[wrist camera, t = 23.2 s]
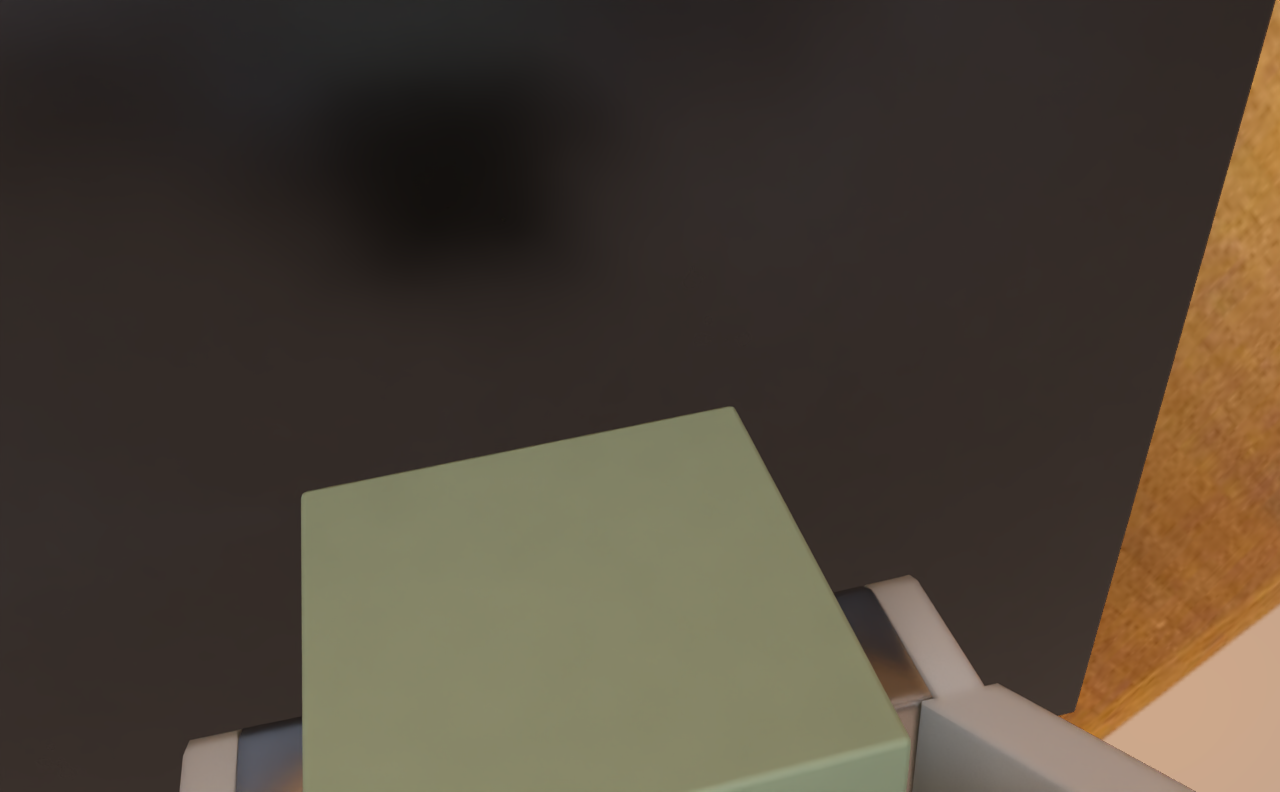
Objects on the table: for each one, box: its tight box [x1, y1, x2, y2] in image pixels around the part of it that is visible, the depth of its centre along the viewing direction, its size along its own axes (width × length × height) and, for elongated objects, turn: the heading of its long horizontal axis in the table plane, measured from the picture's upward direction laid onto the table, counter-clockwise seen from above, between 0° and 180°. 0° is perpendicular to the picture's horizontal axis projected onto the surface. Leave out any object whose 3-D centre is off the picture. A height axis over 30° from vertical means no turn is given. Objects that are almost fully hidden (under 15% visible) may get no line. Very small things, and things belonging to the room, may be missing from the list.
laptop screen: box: [0, 0, 1276, 792], centre depth 19 cm, size 22×30×1 cm
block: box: [301, 406, 911, 792], centre depth 11 cm, size 4×4×4 cm
